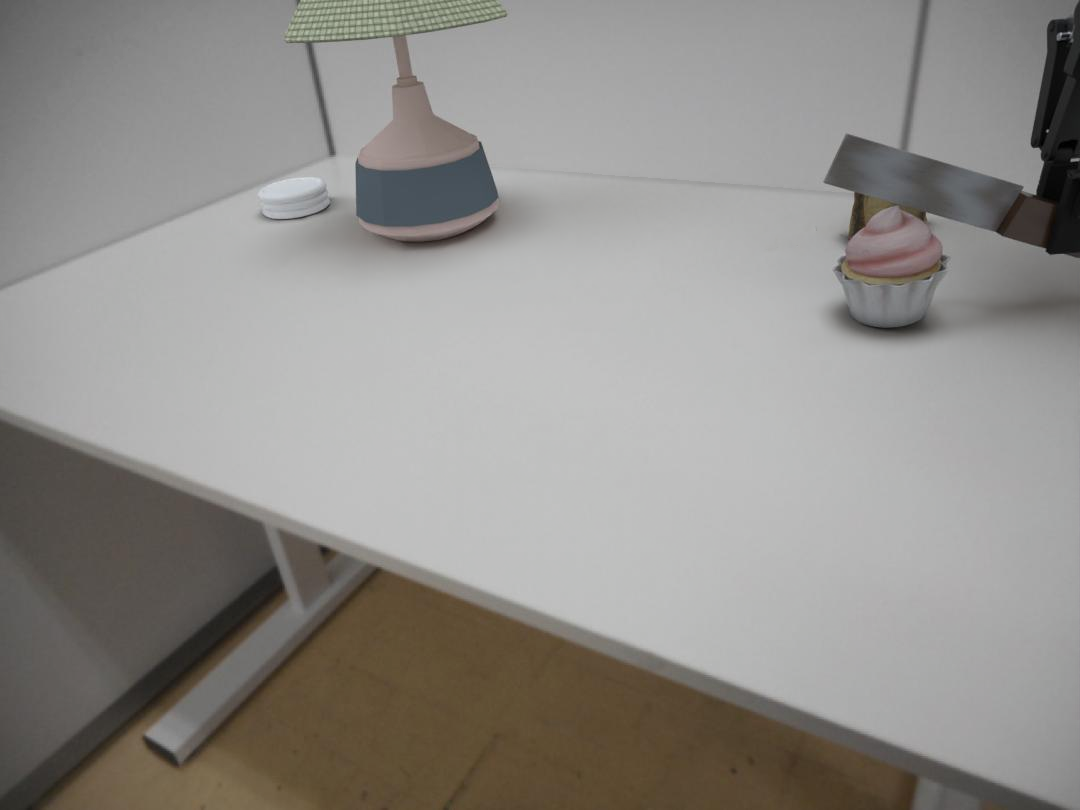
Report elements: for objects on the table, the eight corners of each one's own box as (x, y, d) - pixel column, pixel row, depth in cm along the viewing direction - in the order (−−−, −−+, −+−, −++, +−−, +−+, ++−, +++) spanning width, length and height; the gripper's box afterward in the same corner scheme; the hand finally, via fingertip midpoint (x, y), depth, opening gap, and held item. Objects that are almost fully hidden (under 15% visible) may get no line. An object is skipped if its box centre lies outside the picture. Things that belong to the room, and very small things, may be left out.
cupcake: (925, 345, 61) (934, 231, 56) (816, 328, 68) (814, 222, 62) (963, 297, 67) (974, 188, 61) (858, 284, 73) (860, 184, 68)
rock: (913, 191, 88) (830, 188, 87) (955, 142, 80) (864, 138, 79) (929, 272, 84) (842, 268, 83) (974, 229, 76) (879, 225, 75)
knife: (1086, 255, 66) (1116, 212, 64) (1104, 265, 64) (1135, 221, 62) (818, 178, 62) (841, 130, 60) (828, 187, 60) (852, 137, 58)
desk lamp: (573, 214, 99) (546, -180, 76) (389, 282, 84) (290, -178, 62) (463, 182, 116) (415, -146, 94) (294, 235, 102) (190, -138, 79)
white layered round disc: (311, 194, 118) (305, 172, 116) (342, 205, 112) (337, 182, 110) (252, 212, 113) (245, 189, 111) (281, 225, 106) (274, 200, 104)
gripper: (1030, -75, 58) (964, 219, 70) (1175, -76, 45) (1062, 285, 57) (1129, -85, 58) (1045, 212, 70) (1304, -89, 44) (1162, 276, 57)
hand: (1053, 244), depth 64 cm, fingers closed on knife, 2 cm apart
